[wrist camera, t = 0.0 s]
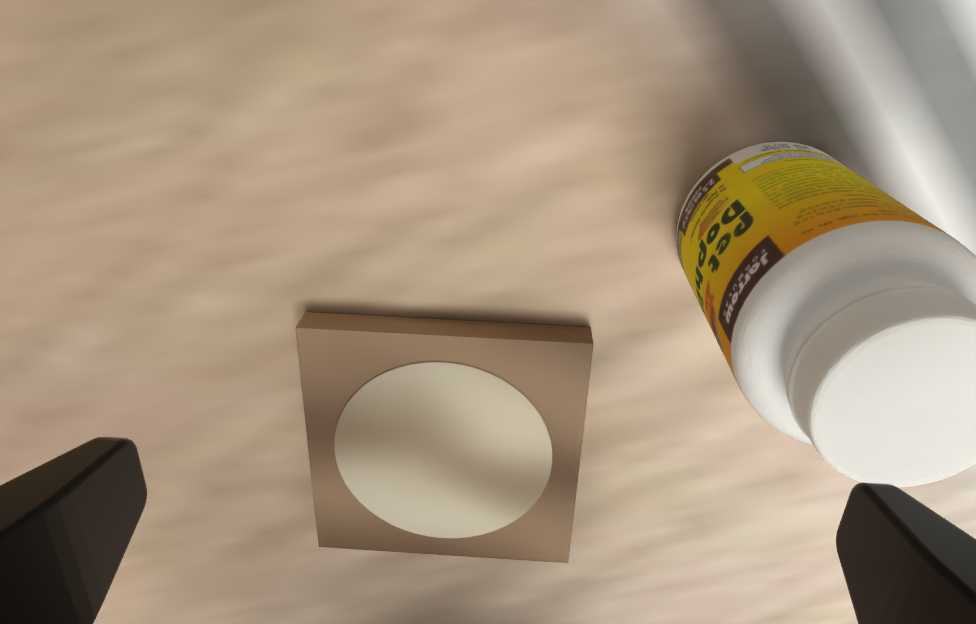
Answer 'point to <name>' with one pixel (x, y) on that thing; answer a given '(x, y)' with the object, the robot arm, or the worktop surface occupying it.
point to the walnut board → (444, 433)
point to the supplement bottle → (837, 311)
